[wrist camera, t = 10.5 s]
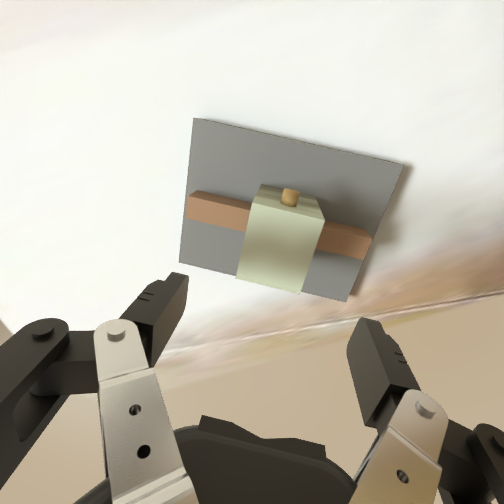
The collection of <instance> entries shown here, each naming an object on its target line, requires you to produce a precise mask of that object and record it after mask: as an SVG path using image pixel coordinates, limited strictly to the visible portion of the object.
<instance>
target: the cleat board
mask: <svg viewBox="0 0 504 504" xmlns="http://www.w3.org/2000/svg"><path fill="white" fill-rule="evenodd" d="M403 166H404V165H401V164H398V163H393V162H389V161H384V160H380V159H376V158H371V157H367V156H362V155H358V154H353V153H349V152H345V151H340V150H336V149H331V148H327V147H323V146H318V145H314V144H309V143H305V142H300V141H296V140H292V139H287V138H283V137H278V136H274V135H270V134H265V133H261V132H256V131H252V130H247V129H243V128H239V127H234V126H230V125H225V124H221V123H216V122H212V121H208V120H203V119H199V118H193V127H192V137H191V146H190V156H189V166H188V176H187V186H186V195H185V205H184V215H183V225H182V234H181V244H180V254H179V263H184V264H188V265H192V266H196V267H200V268H204V269H209V270H213V271H217V272H221V273H225V274H230V275H234V276H236V274H237V270H238V265H239V261H240V256H241V251H242V247H243V242H244V238H245V233H246V229H247V224H248V219H249V215H250V210H251V206H252V202H253V200H254V198H255V196H256V194H257V192H258V190H259V188H260V185H261V184H263V185H267V186H272V187H276V188H280V189H284V188H288V189H293V190H296V191H299V192H300V193H301V194H305V195H309V196H313V197H316V200H317V202H318V205H319V207H320V209H321V212H322V214H323V217H324V219H325V222H324V225H323V228H322V231H321V234H320V236H319V239H318V242H317V245H316V248H315V251H314V254H313V257H312V260H311V263H310V266H309V269H308V271H307V274H306V277H305V280H304V283H303V286H302V289H301V292H305V293H309V294H313V295H317V296H321V297H326V298H330V299H334V300H338V301H342V302H346V301H347V299H348V296H349V294H350V292H351V289H352V287H353V285H354V282H355V280H356V277H357V275H358V273H359V270H360V268H361V266H362V263H363V261H364V258H365V256H366V254H367V251H368V249H369V247H370V244H371V242H372V240H373V237H374V235H375V232H376V230H377V228H378V225H379V223H380V221H381V218H382V216H383V213H384V211H385V209H386V206H387V204H388V202H389V199H390V197H391V195H392V192H393V190H394V187H395V185H396V183H397V180H398V178H399V176H400V173H401V171H402V168H403Z"/></svg>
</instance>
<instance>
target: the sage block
mask: <svg viewBox="0 0 504 504" xmlns="http://www.w3.org/2000/svg"><path fill="white" fill-rule="evenodd" d="M324 222H325V219H324V217H323V214H322V212H321V209H320V207H319V205H318V202H317V200H316V197H313V196H309V195H305V194H301V193H300V192H299V191H296V190H293V189H288V188H284V189H280V188H276V187H272V186H267V185H263V184H261V185H260V188H259V190H258V192H257V194H256V196H255V198H254V200H253V202H252V206H251V210H250V215H249V219H248V224H247V229H246V233H245V238H244V242H243V247H242V251H241V256H240V261H239V265H238V270H237V274H236V279H240V280H244V281H248V282H253V283H257V284H261V285H265V286H269V287H273V288H277V289H281V290H285V291H289V292H293V293H297V294H300V292H301V289H302V286H303V283H304V280H305V277H306V274H307V271H308V269H309V266H310V263H311V260H312V257H313V254H314V251H315V248H316V245H317V242H318V239H319V236H320V234H321V231H322V228H323V225H324Z"/></svg>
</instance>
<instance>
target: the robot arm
mask: <svg viewBox="0 0 504 504" xmlns="http://www.w3.org/2000/svg"><path fill="white" fill-rule="evenodd" d="M188 282H189V276H188V275H183V274H179V273H175V272H172V273H171V274H170V275H169V276H168V278H167V279H166V280H165V281H161V280H157V281H155V282H153V283H151V284H149V285H148V286H147V287H146V288H145V289H144V290H143V291H142V293H141V294H140V295H139V296H138V297H137V299H135V301H134V302H133V303H132V304H131V305H130V306H129V307H128V309H127V310H126V311H125V312H124V313H123V314H122V315H121V317H120V318H119V319H115V320H110V321H107V322H105V323H103V324H101V325H100V326H99V327H98V328H97V329H96V330H94V331H69V327H68V324H67V323H66V322H65V321H63V320H61V319H56V318H47V319H41V320H37V321H34V322H32V323H29V324H28V325H26V326H24V327H23V328H22V329H20V330H19V331H18V332H17V333H16V334H14V335H13V336H12V337H11V338H10V339H9V340H7V341H6V342H5V343H4V344H2V345H1V346H0V490H1V488H2V487H3V486H4V484H5V483H6V481H7V480H8V479H9V477H10V476H11V475H12V473H13V472H14V471H15V469H16V468H17V466H18V465H19V464H20V462H21V461H22V459H23V458H24V457H25V456H26V454H27V453H28V451H29V450H30V449H31V447H32V446H33V445H34V443H35V442H36V440H37V439H38V438H39V436H40V435H41V433H42V432H43V431H44V429H45V428H46V427H47V425H48V424H49V423H50V421H51V420H52V419H53V417H54V416H55V414H56V413H57V412H58V410H59V409H60V408H61V406H62V405H63V404H64V402H65V401H66V399H67V398H68V397H69V395H71V394H86V393H97V395H98V405H99V414H100V425H101V434H102V445H103V457H104V468H105V478H106V479H105V480H104V481H102V482H101V483H100V484H98V485H97V486H96V487H94V488H93V489H92V490H90V491H89V492H88V493H86V494H85V495H84V496H83V497H81V498H80V499H79V500H77V501H76V502H75V503H73V504H433V503H434V500H435V496H436V492H437V488H438V490H439V493H440V495H441V498H442V501H443V504H491V501H492V500H494V499H495V498H496V499H497V502H498V503H499V504H504V432H503V431H501V430H500V429H498V428H496V427H494V426H492V425H489V424H479V425H477V426H476V428H475V429H474V430H473V431H472V430H470V429H468V428H466V427H464V426H462V425H460V424H458V423H456V422H454V421H452V420H450V419H448V416H447V414H446V412H445V411H444V409H443V408H442V406H441V405H440V404H439V403H438V402H437V401H436V400H435V399H433V398H432V397H431V396H429V395H428V394H426V393H424V392H422V391H421V389H420V387H419V385H418V383H417V381H416V379H415V377H414V375H413V373H412V372H411V369H410V367H409V365H408V364H407V361H406V360H405V357H404V356H403V353H402V351H401V349H400V348H399V345H398V344H397V343H396V342H395V341H394V340H393V339H392V338H391V337H390V336H389V335H386V334H385V332H384V330H383V327H382V325H381V323H380V322H379V321H376V320H371V319H367V318H363V317H362V318H360V319H359V321H358V323H357V325H356V327H355V329H354V331H353V333H352V336H351V338H350V340H349V342H348V345H347V359H348V363H349V366H350V370H351V374H352V378H353V382H354V386H355V390H356V394H357V398H358V401H359V405H360V409H361V413H362V417H363V421H364V425H365V426H368V427H372V428H376V429H377V432H378V435H377V437H376V438H375V440H374V442H373V443H372V445H371V447H370V449H369V451H368V452H367V454H366V456H365V458H364V460H363V461H362V463H361V465H360V467H359V469H358V471H357V473H356V474H355V476H354V478H353V479H352V478H351V477H350V476H349V475H348V474H347V473H346V472H345V471H344V470H343V469H342V468H340V467H339V466H338V465H337V464H335V463H334V462H332V461H331V460H330V459H328V458H326V452H325V446H324V445H321V444H317V443H313V442H309V441H305V440H301V439H297V438H276V439H263V438H260V437H258V436H256V435H254V434H252V433H250V432H249V431H247V430H245V429H243V428H241V427H239V426H238V425H235V424H234V423H232V422H228V421H224V420H220V419H216V418H212V417H208V416H204V415H202V417H201V420H200V423H199V425H193V426H187V427H183V428H179V429H176V430H174V431H173V430H172V426H171V423H170V420H169V416H168V413H167V410H166V407H165V404H164V400H163V397H162V393H161V390H160V387H159V384H158V380H157V377H156V374H155V371H154V368H153V367H154V366H155V364H156V362H157V360H158V358H159V357H160V355H161V353H162V351H163V349H164V348H165V346H166V344H167V342H168V340H169V339H170V337H171V335H172V333H173V331H174V330H175V328H176V326H177V324H178V322H179V321H180V319H181V317H182V315H183V313H184V310H185V306H186V299H187V291H188Z"/></svg>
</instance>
